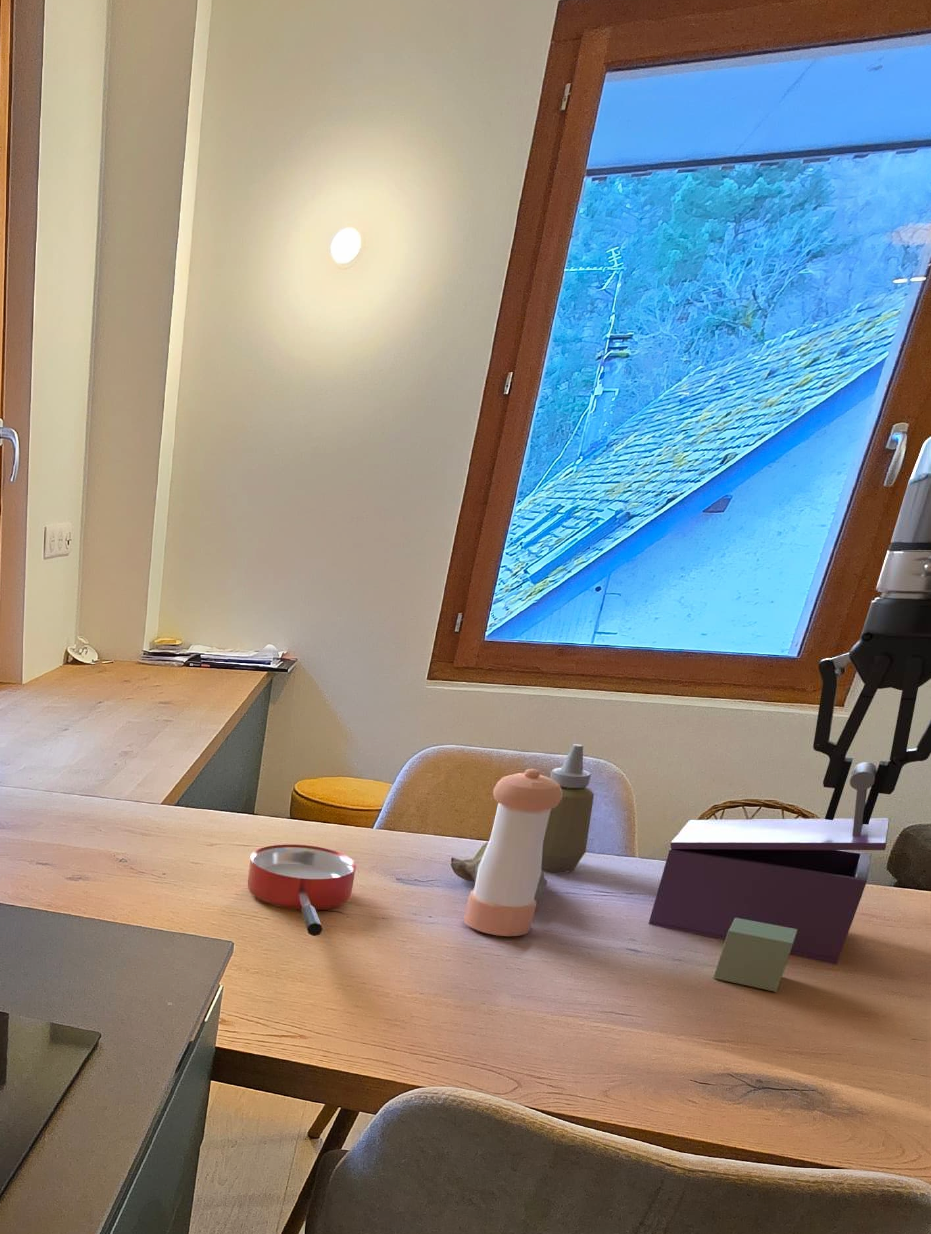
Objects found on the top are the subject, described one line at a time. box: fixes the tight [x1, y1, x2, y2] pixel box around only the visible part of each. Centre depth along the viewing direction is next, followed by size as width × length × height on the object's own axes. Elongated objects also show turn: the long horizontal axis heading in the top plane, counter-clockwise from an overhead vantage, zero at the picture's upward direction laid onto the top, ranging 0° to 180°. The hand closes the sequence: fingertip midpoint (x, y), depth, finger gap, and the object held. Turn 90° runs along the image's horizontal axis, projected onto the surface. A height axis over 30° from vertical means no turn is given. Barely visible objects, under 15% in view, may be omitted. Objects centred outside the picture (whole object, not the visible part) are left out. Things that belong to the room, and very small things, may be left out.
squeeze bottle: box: [541, 743, 595, 874], centre depth 143 cm, size 8×8×18 cm
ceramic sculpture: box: [450, 840, 548, 902], centre depth 135 cm, size 11×9×15 cm
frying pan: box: [247, 844, 357, 937], centre depth 128 cm, size 32×13×6 cm, turn 171°
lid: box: [669, 761, 891, 851], centre depth 120 cm, size 19×14×8 cm
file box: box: [647, 848, 873, 966], centre depth 124 cm, size 18×14×10 cm
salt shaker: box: [463, 768, 562, 937], centre depth 123 cm, size 7×7×19 cm
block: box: [713, 918, 797, 993], centre depth 112 cm, size 6×6×6 cm
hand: (846, 819), depth 117 cm, fingers open, 2 cm apart
